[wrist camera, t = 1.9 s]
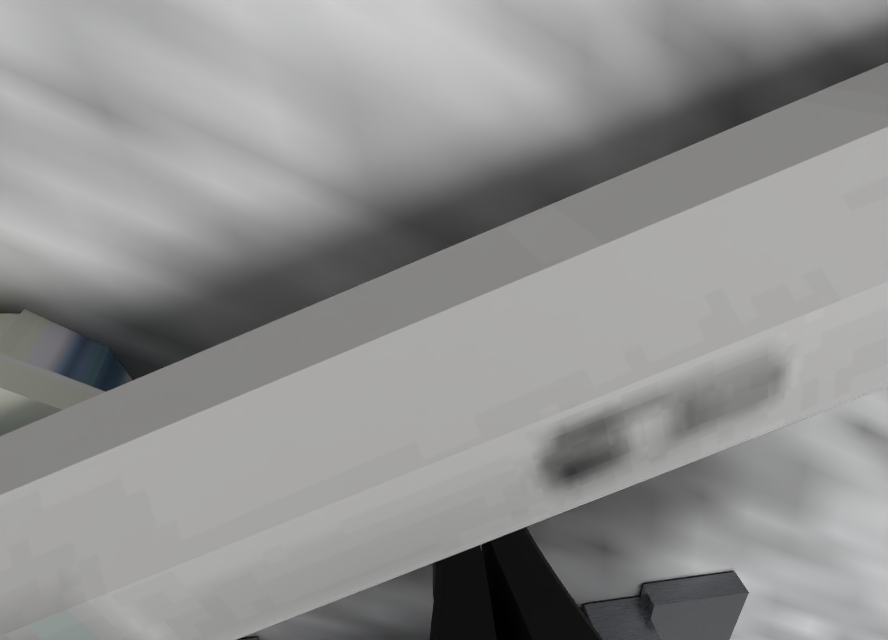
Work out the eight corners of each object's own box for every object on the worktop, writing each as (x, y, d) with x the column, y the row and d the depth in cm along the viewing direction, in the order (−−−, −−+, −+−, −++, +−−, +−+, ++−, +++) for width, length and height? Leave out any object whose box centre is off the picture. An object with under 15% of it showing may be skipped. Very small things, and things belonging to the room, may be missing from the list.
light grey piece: (1599, 217, 7) (-500, 1261, 5) (1018, 130, 13) (-97, 600, 11) (2079, -362, 5) (-1969, 1299, 2) (1086, -155, 10) (-387, 386, 8)
